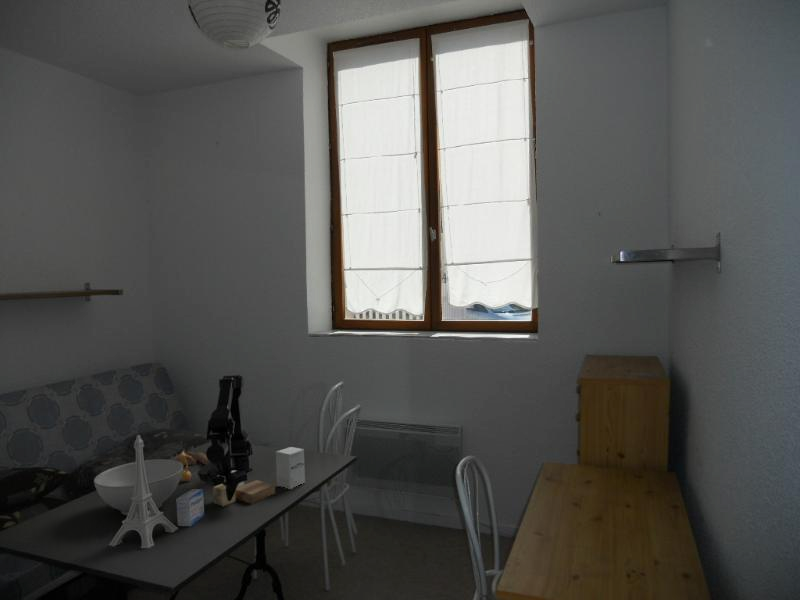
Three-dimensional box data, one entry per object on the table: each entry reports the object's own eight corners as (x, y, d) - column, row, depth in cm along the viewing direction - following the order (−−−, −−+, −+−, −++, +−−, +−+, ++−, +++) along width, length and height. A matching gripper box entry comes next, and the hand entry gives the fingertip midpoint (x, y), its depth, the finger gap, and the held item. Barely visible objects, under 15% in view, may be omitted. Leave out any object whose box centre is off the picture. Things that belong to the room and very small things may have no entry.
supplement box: (290, 490, 198) (288, 454, 198) (276, 486, 203) (274, 451, 203) (306, 483, 204) (304, 449, 204) (292, 480, 209) (290, 446, 208)
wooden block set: (218, 443, 243) (234, 452, 229) (218, 456, 244) (235, 466, 229) (177, 451, 233) (192, 461, 219) (178, 465, 233) (193, 476, 219)
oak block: (213, 503, 189) (213, 487, 189) (226, 498, 193) (225, 482, 193) (222, 506, 186) (222, 489, 186) (235, 501, 190) (234, 485, 190)
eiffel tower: (108, 546, 161) (101, 441, 160) (140, 526, 174) (134, 429, 173) (148, 549, 157) (142, 442, 156) (178, 529, 170) (172, 429, 169)
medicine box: (190, 527, 171) (189, 498, 171) (177, 526, 172) (175, 498, 172) (204, 516, 179) (203, 489, 178) (191, 515, 180) (190, 488, 179)
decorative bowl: (201, 495, 197) (199, 461, 196) (147, 528, 171) (145, 489, 171) (136, 490, 204) (135, 457, 204) (76, 522, 178) (73, 484, 178)
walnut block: (233, 499, 193) (232, 488, 193) (256, 489, 201) (256, 480, 201) (251, 505, 187) (251, 494, 187) (275, 495, 195) (274, 485, 195)
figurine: (198, 478, 215) (197, 447, 214) (194, 484, 209) (193, 451, 208) (175, 480, 214) (174, 448, 213) (171, 486, 208) (169, 453, 207)
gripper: (184, 455, 188) (187, 501, 189) (218, 464, 177) (220, 513, 178) (213, 446, 197) (216, 490, 198) (247, 454, 186) (249, 501, 186)
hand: (224, 499), depth 190 cm, fingers closed on oak block, 5 cm apart
